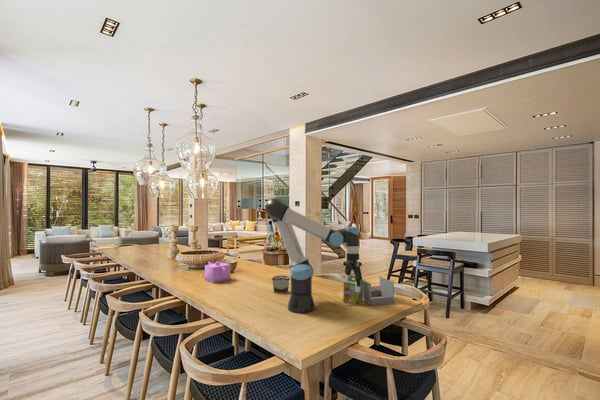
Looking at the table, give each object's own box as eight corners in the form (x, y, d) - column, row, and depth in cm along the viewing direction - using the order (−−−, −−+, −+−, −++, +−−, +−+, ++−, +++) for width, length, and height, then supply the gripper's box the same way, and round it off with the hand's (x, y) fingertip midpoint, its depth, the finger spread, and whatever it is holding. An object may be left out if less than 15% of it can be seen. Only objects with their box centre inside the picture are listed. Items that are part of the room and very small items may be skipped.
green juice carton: (343, 302, 175) (342, 277, 176) (348, 298, 183) (348, 273, 184) (358, 304, 171) (358, 278, 171) (363, 300, 179) (362, 275, 179)
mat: (348, 305, 170) (348, 305, 170) (341, 299, 181) (341, 299, 181) (366, 304, 173) (366, 303, 173) (358, 298, 184) (358, 297, 184)
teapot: (217, 275, 249) (217, 258, 249) (234, 280, 231) (233, 262, 231) (200, 278, 238) (200, 261, 239) (216, 284, 221) (216, 265, 221)
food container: (291, 290, 203) (291, 275, 203) (290, 292, 197) (290, 277, 197) (273, 289, 204) (273, 275, 204) (271, 292, 198) (271, 277, 198)
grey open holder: (370, 305, 171) (370, 284, 171) (358, 297, 186) (358, 277, 187) (394, 303, 174) (393, 282, 175) (380, 295, 190) (380, 276, 190)
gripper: (368, 255, 166) (368, 294, 166) (350, 249, 191) (350, 283, 190) (355, 256, 165) (355, 295, 164) (339, 250, 189) (339, 283, 189)
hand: (353, 288), depth 177 cm, fingers open, 13 cm apart
